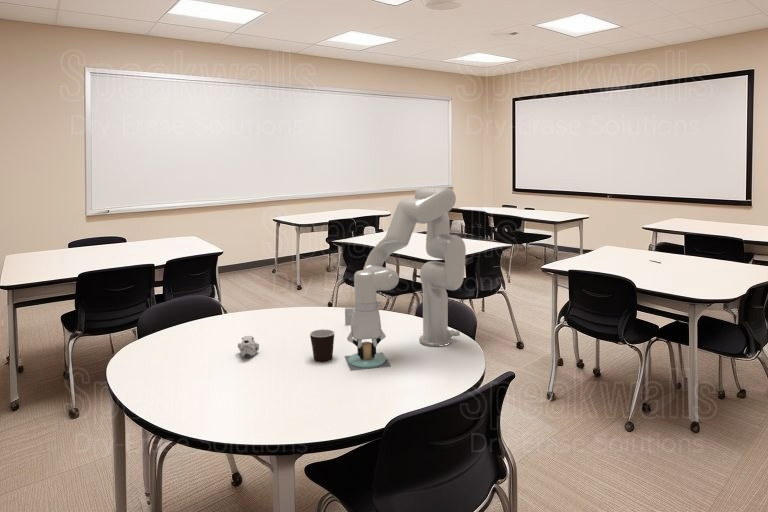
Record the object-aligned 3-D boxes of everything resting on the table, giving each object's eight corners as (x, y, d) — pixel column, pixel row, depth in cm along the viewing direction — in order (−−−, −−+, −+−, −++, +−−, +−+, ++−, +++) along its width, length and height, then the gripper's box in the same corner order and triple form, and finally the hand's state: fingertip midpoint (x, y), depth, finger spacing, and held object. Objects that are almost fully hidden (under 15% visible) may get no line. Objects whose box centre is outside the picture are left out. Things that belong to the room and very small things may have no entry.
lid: (381, 353, 191) (380, 336, 190) (389, 366, 179) (389, 347, 178) (345, 356, 188) (345, 339, 187) (351, 369, 176) (351, 351, 175)
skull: (261, 341, 200) (258, 327, 190) (258, 363, 195) (256, 350, 185) (240, 341, 199) (236, 327, 189) (237, 363, 194) (233, 350, 184)
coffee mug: (331, 365, 182) (330, 337, 180) (307, 363, 184) (306, 336, 182) (340, 353, 193) (339, 327, 191) (318, 352, 195) (317, 326, 193)
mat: (382, 354, 192) (382, 352, 192) (391, 368, 178) (391, 366, 178) (344, 357, 189) (344, 356, 189) (350, 372, 175) (350, 370, 175)
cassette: (345, 326, 226) (344, 308, 225) (345, 324, 228) (345, 307, 227) (372, 326, 226) (372, 308, 224) (373, 324, 228) (372, 307, 226)
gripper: (386, 301, 185) (387, 351, 189) (340, 305, 182) (341, 355, 185) (391, 307, 178) (392, 358, 181) (343, 311, 175) (345, 363, 178)
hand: (366, 356), depth 183 cm, fingers closed on lid, 3 cm apart
